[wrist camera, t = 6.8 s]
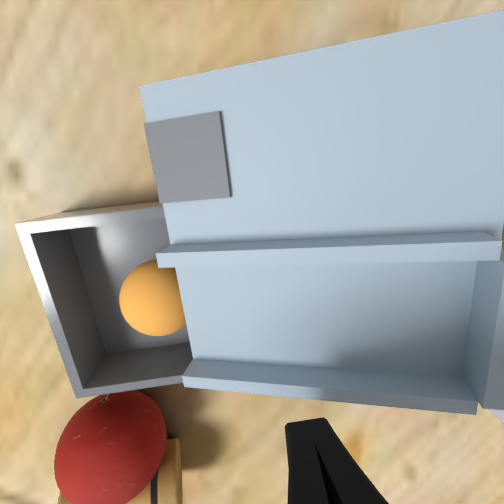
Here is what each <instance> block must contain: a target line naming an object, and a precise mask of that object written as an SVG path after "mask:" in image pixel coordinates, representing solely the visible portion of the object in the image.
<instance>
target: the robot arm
mask: <svg viewBox="0 0 504 504" xmlns="http://www.w3.org/2000/svg"><path fill="white" fill-rule="evenodd" d="M488 410H489V411H490V412H491V413H492V414H493V415H494V416H496V417H497V418H498V419H499V420H500V421H501V422H502V423H503V424H504V410H495V409H488ZM285 435H286V445H287V456H288V466H289V479H288V504H389V503H388V502H387V501H386V500H385V499H384V497H383V496H382V495H381V494H380V493H379V491H378V490H377V489H376V488H375V486H374V485H373V484H372V482H371V481H370V480H369V479H368V477H367V476H366V475H365V474H364V472H363V471H362V470H361V468H360V467H359V466H358V464H357V463H356V462H355V460H354V459H353V458H352V456H351V455H350V454H349V452H348V451H347V449H346V448H345V447H344V445H343V444H342V442H341V441H340V439H339V438H338V436H337V435H336V433H335V432H334V430H333V429H332V427H331V426H330V424H329V422H328V421H327V419H325V418H324V417H323V418H317V419H311V420H304V421H298V422H291V423H287V424H286V425H285Z"/></svg>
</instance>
